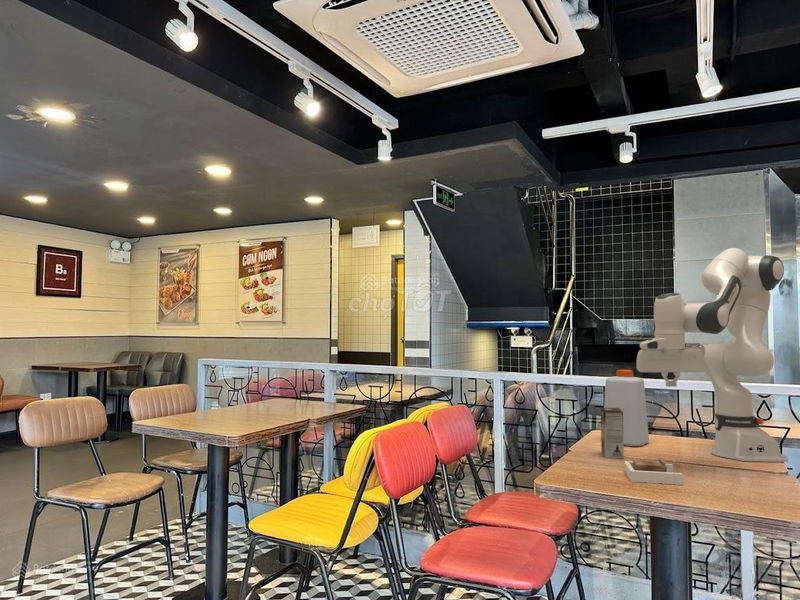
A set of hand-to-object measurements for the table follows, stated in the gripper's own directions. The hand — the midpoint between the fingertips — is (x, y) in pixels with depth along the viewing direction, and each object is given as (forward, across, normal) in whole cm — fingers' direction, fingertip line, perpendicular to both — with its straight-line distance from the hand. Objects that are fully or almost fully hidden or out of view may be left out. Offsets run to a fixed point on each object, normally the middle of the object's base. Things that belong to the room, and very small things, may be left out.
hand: (671, 386), depth 183 cm
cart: (+25, +11, +17) cm, 32 cm away
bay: (+25, +10, +16) cm, 31 cm away
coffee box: (+26, +17, -12) cm, 33 cm away
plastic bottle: (+26, +8, -38) cm, 47 cm away
